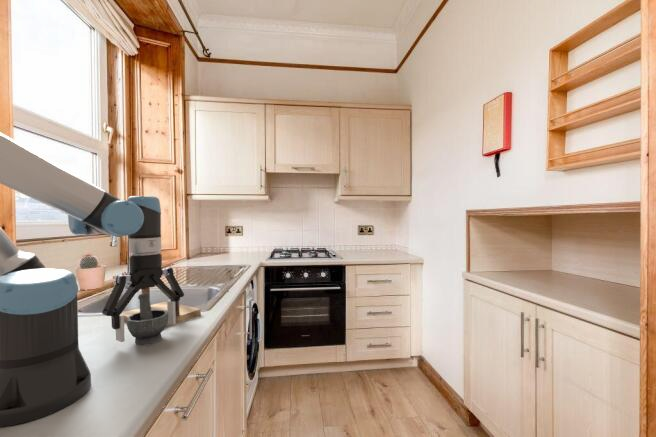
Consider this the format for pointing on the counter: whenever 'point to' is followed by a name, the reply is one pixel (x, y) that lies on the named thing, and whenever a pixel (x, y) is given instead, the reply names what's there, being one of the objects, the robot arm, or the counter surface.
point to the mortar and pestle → (147, 322)
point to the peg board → (181, 313)
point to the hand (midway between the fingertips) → (147, 331)
